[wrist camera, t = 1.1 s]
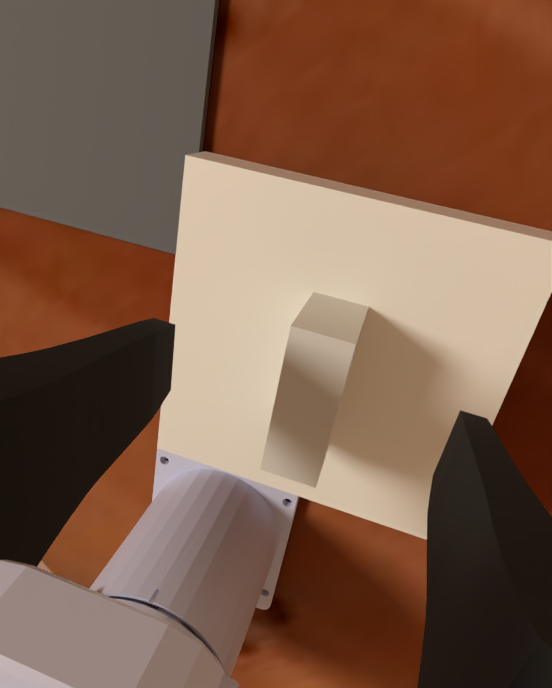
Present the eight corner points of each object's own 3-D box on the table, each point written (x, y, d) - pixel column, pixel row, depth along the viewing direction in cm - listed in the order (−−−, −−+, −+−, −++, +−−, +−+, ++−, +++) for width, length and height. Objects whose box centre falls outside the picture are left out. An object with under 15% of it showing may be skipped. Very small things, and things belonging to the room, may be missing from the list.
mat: (191, 255, 24) (187, 257, 23) (-85, 181, 26) (-92, 182, 26) (239, -183, 17) (235, -189, 17) (-136, -227, 20) (-147, -233, 19)
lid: (439, 514, 21) (439, 613, 17) (174, 427, 23) (117, 496, 19) (560, 233, 16) (603, 277, 12) (205, 151, 18) (135, 163, 13)
